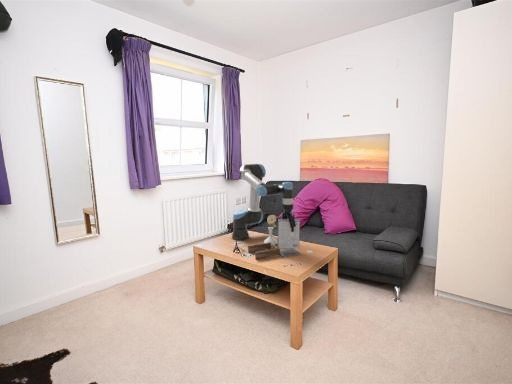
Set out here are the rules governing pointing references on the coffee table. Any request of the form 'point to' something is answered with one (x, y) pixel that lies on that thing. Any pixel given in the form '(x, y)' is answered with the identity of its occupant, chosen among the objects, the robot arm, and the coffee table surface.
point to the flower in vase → (271, 220)
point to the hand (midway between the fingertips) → (288, 234)
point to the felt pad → (289, 252)
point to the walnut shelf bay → (264, 254)
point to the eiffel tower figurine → (237, 247)
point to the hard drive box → (288, 234)
